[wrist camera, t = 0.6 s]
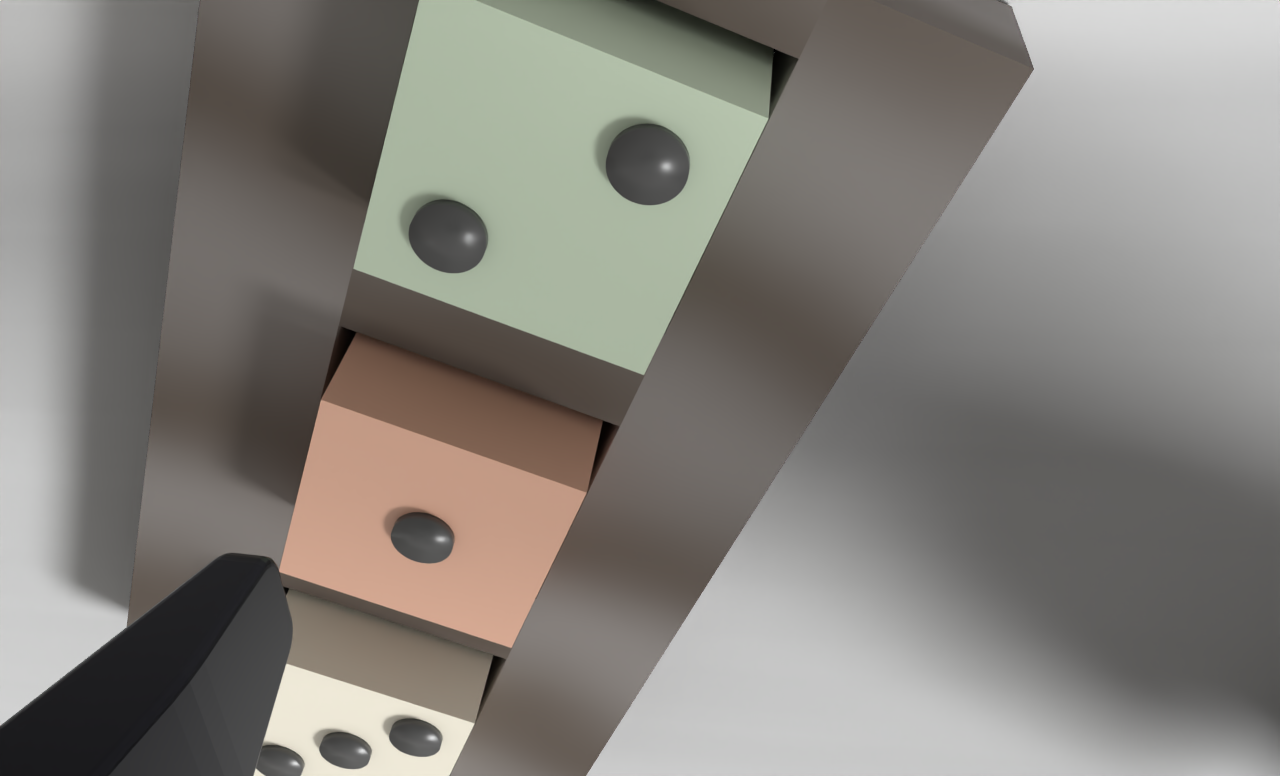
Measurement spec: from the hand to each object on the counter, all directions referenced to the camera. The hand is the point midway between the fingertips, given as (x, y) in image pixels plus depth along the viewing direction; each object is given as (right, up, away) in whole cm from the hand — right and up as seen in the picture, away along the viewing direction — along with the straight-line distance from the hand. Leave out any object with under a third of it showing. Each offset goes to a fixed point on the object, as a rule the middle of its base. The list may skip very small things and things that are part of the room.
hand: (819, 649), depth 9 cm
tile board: (-5, +2, +16) cm, 17 cm away
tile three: (-8, -4, +21) cm, 23 cm away
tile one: (-5, +2, +16) cm, 17 cm away
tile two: (-2, +8, +11) cm, 14 cm away
